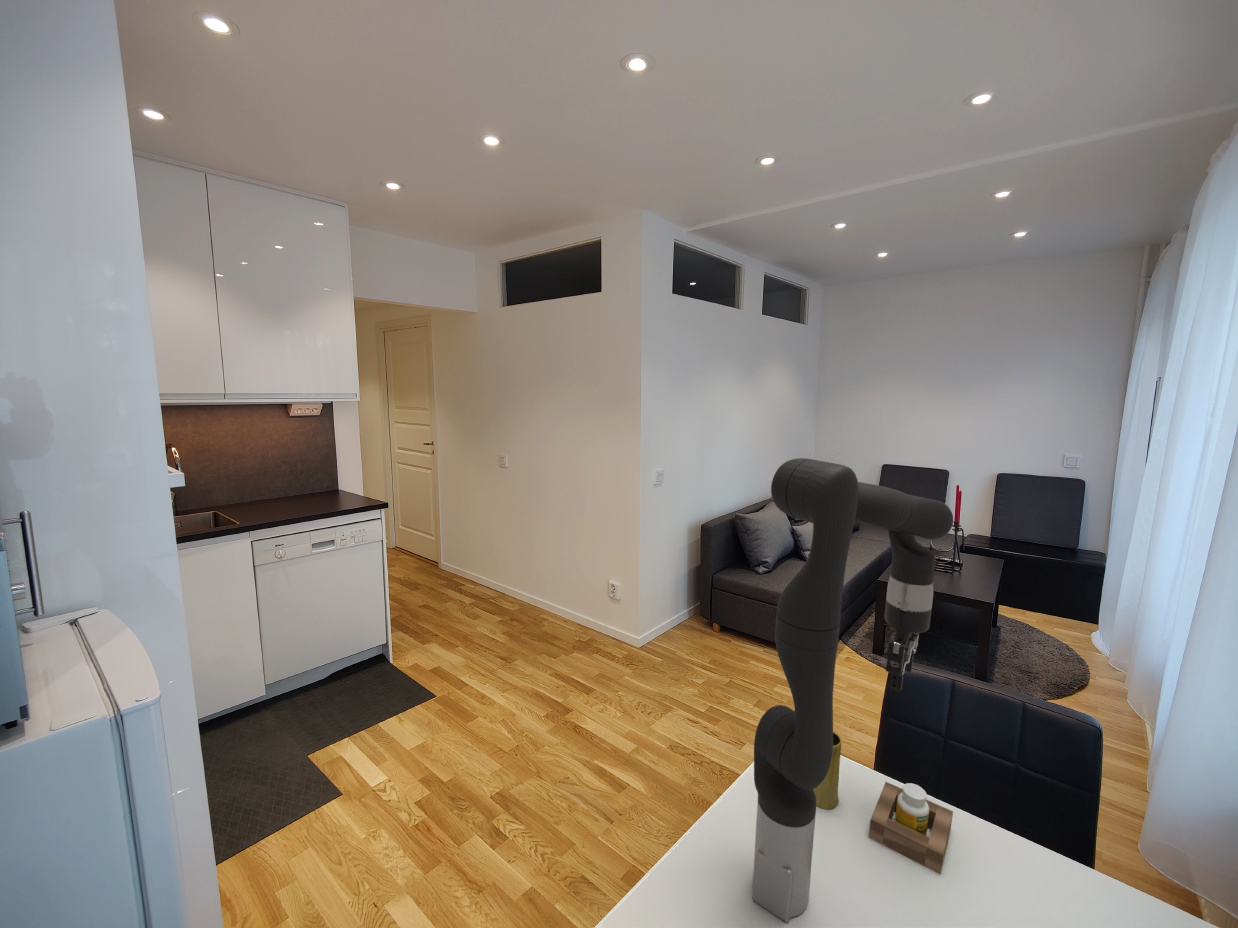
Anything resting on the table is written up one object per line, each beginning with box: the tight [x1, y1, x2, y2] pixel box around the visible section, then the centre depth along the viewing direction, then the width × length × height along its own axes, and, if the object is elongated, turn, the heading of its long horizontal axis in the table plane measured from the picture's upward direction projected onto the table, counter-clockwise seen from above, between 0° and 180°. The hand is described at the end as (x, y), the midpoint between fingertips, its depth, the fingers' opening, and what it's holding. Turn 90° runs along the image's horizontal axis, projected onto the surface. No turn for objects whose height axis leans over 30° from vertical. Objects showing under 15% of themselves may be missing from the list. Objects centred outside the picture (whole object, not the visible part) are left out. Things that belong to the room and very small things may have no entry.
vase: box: [813, 731, 843, 810], centre depth 110 cm, size 6×6×14 cm
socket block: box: [868, 781, 954, 875], centre depth 102 cm, size 12×12×4 cm
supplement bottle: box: [894, 782, 929, 836], centre depth 102 cm, size 5×5×10 cm
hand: (900, 679), depth 102 cm, fingers open, 8 cm apart
